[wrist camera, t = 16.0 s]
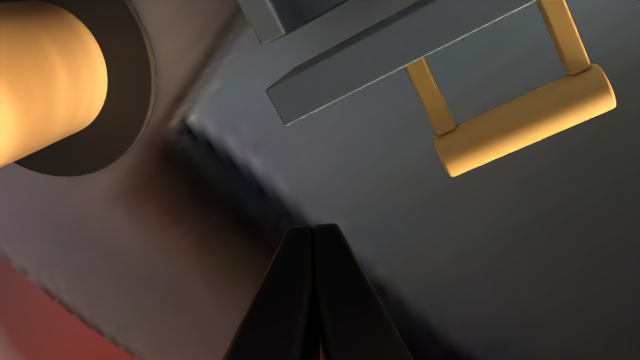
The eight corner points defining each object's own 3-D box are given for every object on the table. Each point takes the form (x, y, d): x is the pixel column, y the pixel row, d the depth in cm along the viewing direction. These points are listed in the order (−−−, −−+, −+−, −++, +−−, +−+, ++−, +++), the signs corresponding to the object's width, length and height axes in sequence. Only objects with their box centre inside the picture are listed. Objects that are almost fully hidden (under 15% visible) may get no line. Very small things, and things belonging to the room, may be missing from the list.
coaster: (202, 100, 22) (198, 102, 22) (47, 210, 25) (41, 213, 25) (50, -112, 21) (43, -113, 20) (-98, 32, 24) (-106, 33, 23)
